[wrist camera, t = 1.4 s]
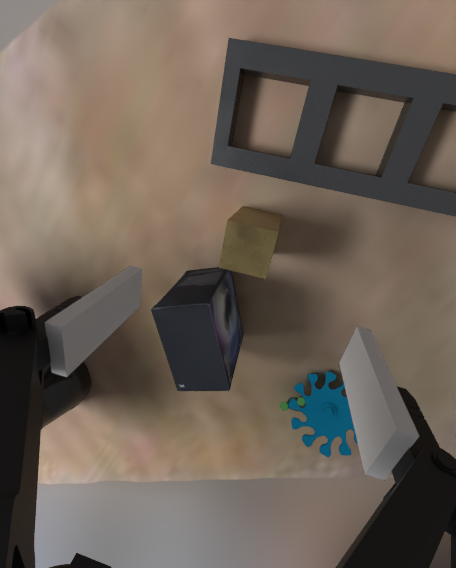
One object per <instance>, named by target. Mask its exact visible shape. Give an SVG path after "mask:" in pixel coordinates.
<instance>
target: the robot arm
mask: <svg viewBox="0 0 456 568" xmlns="http://www.w3.org/2000/svg"><path fill="white" fill-rule="evenodd" d="M141 279H142V269H141V268H137V267H133V266H130V267H128V268H127V269H125V270H123V271H122V272H120V273H119V274H117V275H116V276H114V277H113V278H111V279H110V280H108V281H107V282H105V283H104V284H102V285H101V286H99V287H98V288H96V289H95V290H93V291H92V292H90V293H88V294H87V295H85V296H84V297H81V296H76V297H73V298H70V299H67V300H66V301H64V302H63V303H61V304H60V305H58V306H56V307H55V308H53V310H52V309H51V310H50V311H48V312H47V313H45V314H43V315H42V316H40V317H38V318H37V319H35V314H34V310H33V309H32V308H30V307H26V306H14V307H8V308H5V309H3V310H1V311H0V568H35V552H34V532H35V515H36V499H37V482H38V465H39V449H40V432H41V429H42V428H43V427H45V426H46V425H48V424H49V423H51V422H52V421H54V420H55V419H57V418H58V417H60V416H61V415H63V414H64V413H66V412H67V411H69V410H70V409H73V408H74V407H76V406H77V405H78V404H79V403H80V402H81V401H82V400H83V399H84V397H85V396H86V395H87V394H88V392H89V390H90V377H89V373H88V371H87V369H86V367H85V365H84V364H83V361H84V360H85V359H86V358H87V357H88V356H89V355H90V354H91V353H92V352H94V351H95V350H96V349H97V348H98V347H99V346H100V345H101V344H102V343H103V342H104V341H105V340H106V339H107V338H108V337H109V336H110V335H111V334H112V333H113V332H114V331H115V330H116V329H117V328H118V327H119V326H120V325H121V324H123V323H124V322H125V321H126V320H127V319H128V318H129V317H130V316H131V315H132V314H133V313H134V312H135V311H136V310H137V309H138V308H139V307H140V300H141ZM339 364H340V368H341V373H342V377H343V381H344V386H345V390H346V394H347V399H348V403H349V407H350V412H351V416H352V420H353V425H354V429H355V433H356V438H357V442H358V446H359V451H360V455H361V459H362V464H363V468H364V472H365V475H369V476H372V477H375V478H378V479H381V480H384V481H385V480H386V479H387V477H388V476H389V475H390V474H391V472H392V473H393V477H394V480H395V482H396V483H395V484H394V485H393V487H392V488H391V489H390V490H389V492H388V493H387V494H386V495H385V496H384V498H383V501H382V502H381V504H380V505H379V506H378V508H377V509H376V511H375V512H374V514H373V515H372V516H371V518H370V519H369V521H368V522H367V524H366V525H365V526H364V528H363V529H362V531H361V532H360V534H359V535H358V537H357V538H356V539H355V541H354V542H353V544H352V545H351V547H350V548H349V549H348V551H347V552H346V554H345V555H344V556H343V558H342V559H341V561H340V562H339V564H338V565H337V566H336V568H429V567H430V564H431V562H432V559H433V557H434V555H435V553H436V550H437V548H438V545H439V543H440V541H441V539H442V536H443V534H444V532H445V531H446V532H448V533H449V534H451V568H456V459H455V458H454V457H453V456H451V455H450V454H449V453H447V452H446V451H444V450H443V449H441V448H440V447H439V445H438V443H437V441H436V439H435V437H434V435H433V433H432V431H431V429H430V428H429V426H428V424H427V422H426V420H425V419H424V416H423V414H422V412H421V411H420V408H419V406H418V404H417V402H416V400H415V399H414V397H413V396H412V395H411V394H410V393H409V392H408V391H407V390H406V389H404V388H400V387H397V386H396V384H395V382H394V380H393V378H392V375H391V373H390V371H389V369H388V367H387V365H386V362H385V360H384V358H383V356H382V354H381V351H380V349H379V347H378V345H377V343H376V341H375V338H374V336H373V334H372V332H371V330H368V329H365V328H361V327H356V329H355V331H354V333H353V336H352V338H351V340H350V342H349V344H348V346H347V348H346V350H345V352H344V354H343V356H342V358H341V360H340V363H339ZM50 568H111V567H110V566H108V565H105V564H103V563H100V562H98V561H95V560H93V559H90V558H88V557H86V556H83V555H80V554H78V553H76V555H75V557H74V559H73V560H72V562H71V564H64V565H58V566H54V567H50Z"/></svg>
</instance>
